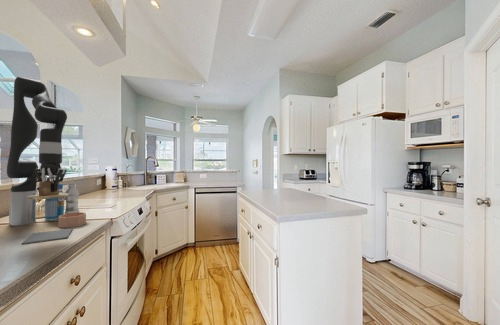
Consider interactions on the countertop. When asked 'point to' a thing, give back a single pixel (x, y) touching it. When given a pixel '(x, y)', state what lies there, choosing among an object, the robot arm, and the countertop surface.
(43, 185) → the oak lid
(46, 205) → the beverage bottle
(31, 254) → the countertop surface
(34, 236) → the charcoal mat
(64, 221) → the terracotta bowl
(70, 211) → the plastic bottle
